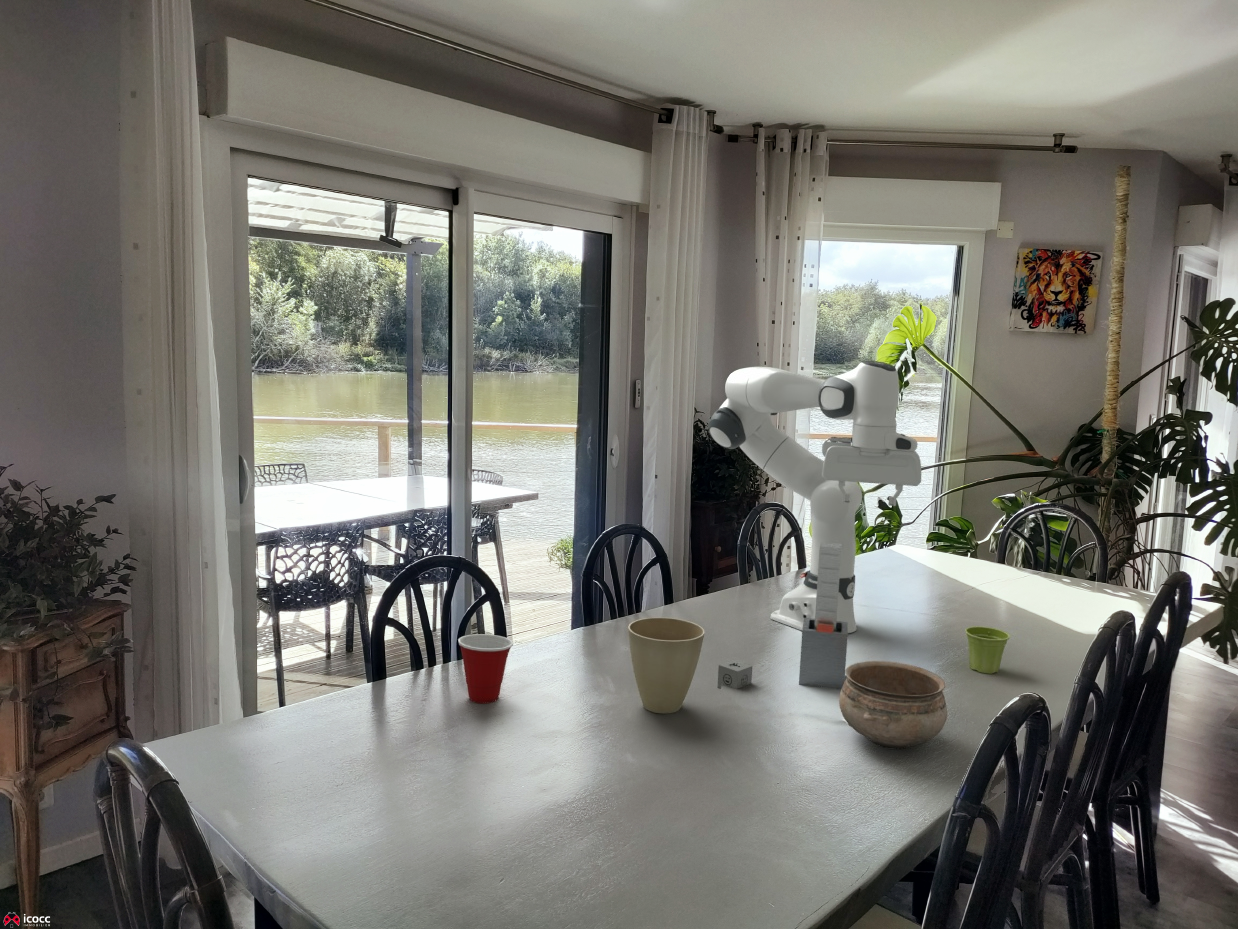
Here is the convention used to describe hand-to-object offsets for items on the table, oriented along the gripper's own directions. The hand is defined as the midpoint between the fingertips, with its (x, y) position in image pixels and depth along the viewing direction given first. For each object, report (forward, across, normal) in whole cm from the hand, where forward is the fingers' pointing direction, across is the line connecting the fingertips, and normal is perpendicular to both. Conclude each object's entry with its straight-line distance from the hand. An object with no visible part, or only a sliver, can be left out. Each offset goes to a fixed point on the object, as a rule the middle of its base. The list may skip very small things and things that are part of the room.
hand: (868, 503), depth 191 cm
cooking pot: (+39, +6, -30) cm, 50 cm away
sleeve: (+39, -7, -5) cm, 40 cm away
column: (+28, -7, -5) cm, 30 cm away
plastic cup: (+39, -72, -36) cm, 89 cm away
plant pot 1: (+39, -37, -28) cm, 61 cm away
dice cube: (+39, -25, -14) cm, 48 cm away
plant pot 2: (+39, +28, +18) cm, 52 cm away
